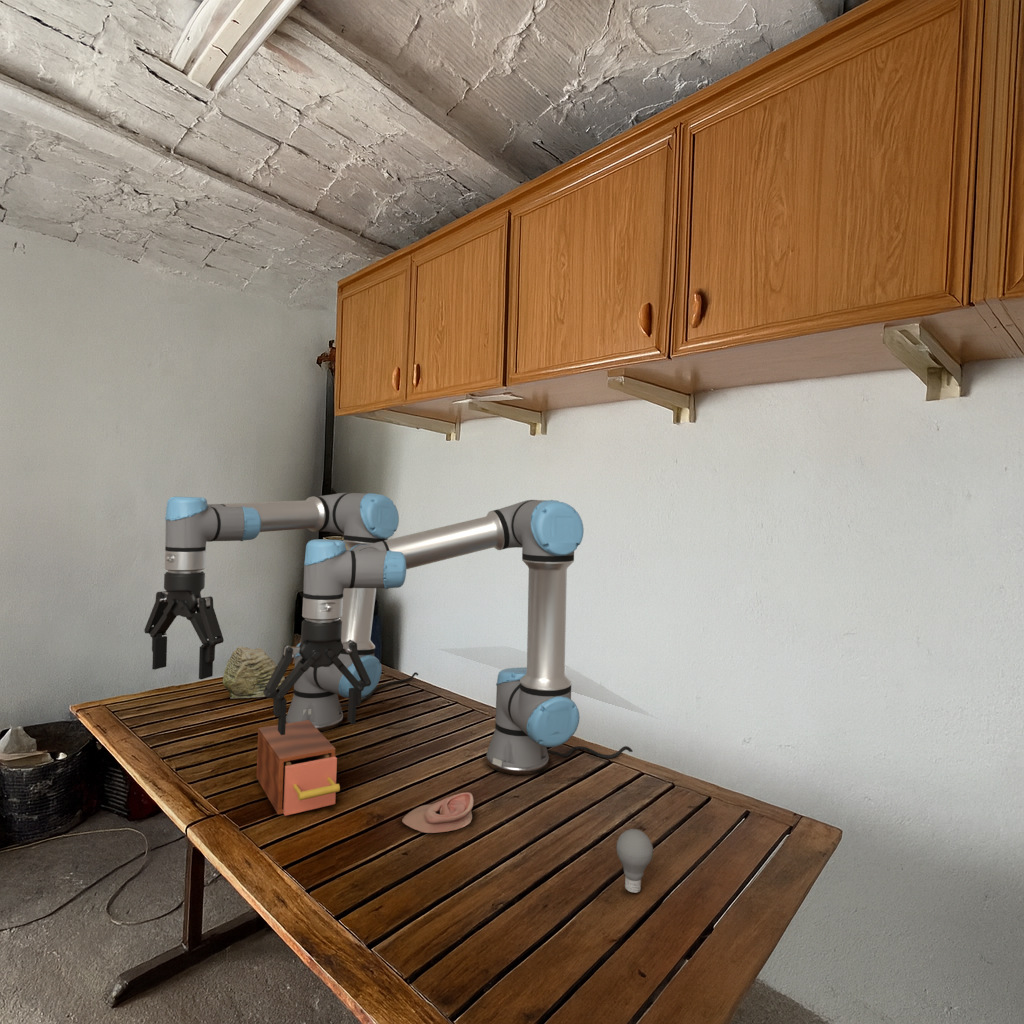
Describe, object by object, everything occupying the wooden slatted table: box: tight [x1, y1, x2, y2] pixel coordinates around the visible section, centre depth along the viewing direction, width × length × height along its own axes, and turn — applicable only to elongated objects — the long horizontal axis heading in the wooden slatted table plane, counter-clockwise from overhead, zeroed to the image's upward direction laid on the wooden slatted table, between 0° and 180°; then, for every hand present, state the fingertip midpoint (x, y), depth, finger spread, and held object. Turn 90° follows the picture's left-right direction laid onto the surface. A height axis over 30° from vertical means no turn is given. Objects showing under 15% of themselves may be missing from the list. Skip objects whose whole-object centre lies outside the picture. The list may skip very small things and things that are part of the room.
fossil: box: [222, 646, 286, 699], centre depth 198 cm, size 9×18×15 cm, turn 132°
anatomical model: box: [401, 791, 474, 834], centre depth 126 cm, size 13×4×12 cm
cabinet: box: [255, 720, 336, 815], centre depth 136 cm, size 19×11×11 cm, turn 34°
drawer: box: [282, 754, 341, 817], centre depth 131 cm, size 23×10×9 cm, turn 34°
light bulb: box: [615, 828, 654, 894], centre depth 106 cm, size 6×6×10 cm
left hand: (182, 672), depth 132 cm, fingers open, 13 cm apart
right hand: (317, 727), depth 124 cm, fingers open, 13 cm apart
